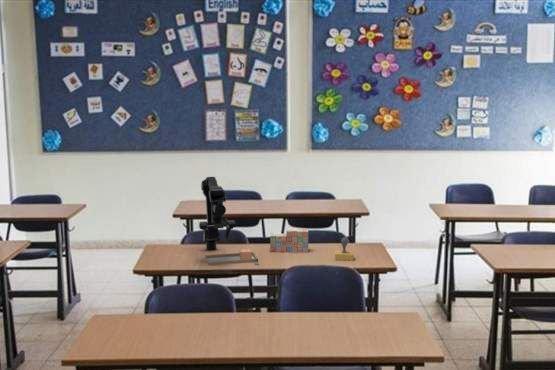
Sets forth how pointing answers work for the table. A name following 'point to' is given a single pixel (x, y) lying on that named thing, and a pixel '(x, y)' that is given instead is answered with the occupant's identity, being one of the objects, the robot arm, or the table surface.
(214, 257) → the box
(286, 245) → the stack of blocks
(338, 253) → the rubber stamp
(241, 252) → the terracotta block
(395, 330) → the table surface
